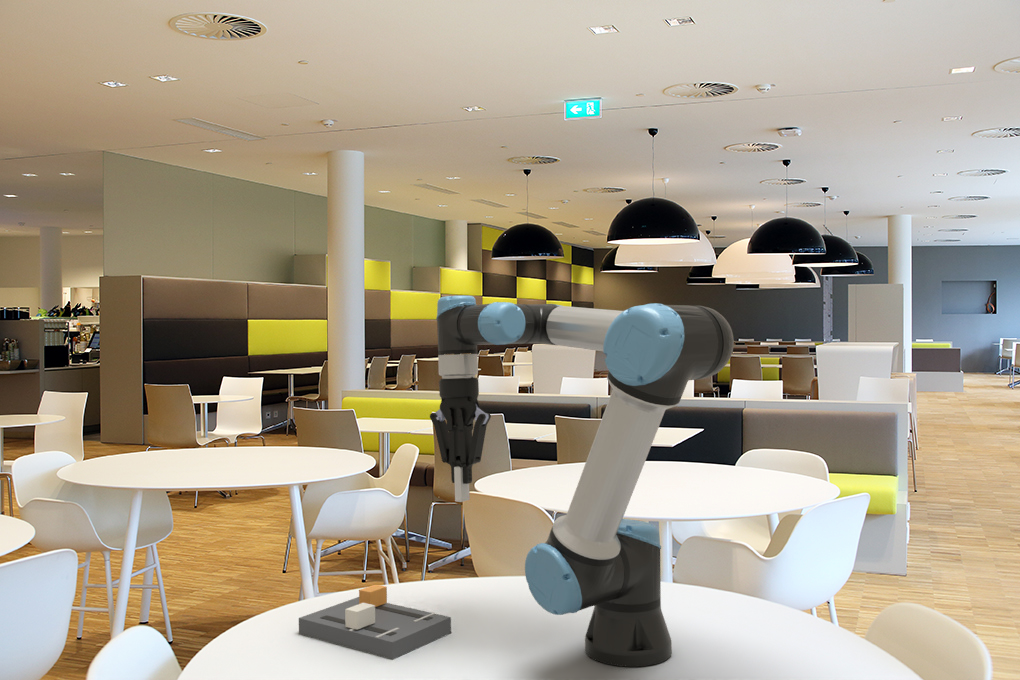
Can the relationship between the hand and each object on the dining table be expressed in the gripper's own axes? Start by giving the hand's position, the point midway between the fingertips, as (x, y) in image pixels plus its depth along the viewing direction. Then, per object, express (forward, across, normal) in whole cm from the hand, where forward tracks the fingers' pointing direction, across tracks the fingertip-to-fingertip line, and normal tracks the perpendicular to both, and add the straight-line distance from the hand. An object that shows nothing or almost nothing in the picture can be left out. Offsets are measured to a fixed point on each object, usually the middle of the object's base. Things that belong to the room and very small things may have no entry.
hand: (462, 500), depth 167 cm
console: (+24, +14, +11) cm, 30 cm away
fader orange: (+21, +19, +5) cm, 28 cm away
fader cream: (+21, +13, +16) cm, 29 cm away
